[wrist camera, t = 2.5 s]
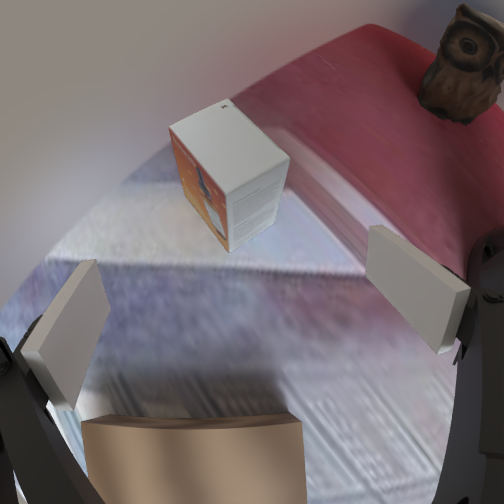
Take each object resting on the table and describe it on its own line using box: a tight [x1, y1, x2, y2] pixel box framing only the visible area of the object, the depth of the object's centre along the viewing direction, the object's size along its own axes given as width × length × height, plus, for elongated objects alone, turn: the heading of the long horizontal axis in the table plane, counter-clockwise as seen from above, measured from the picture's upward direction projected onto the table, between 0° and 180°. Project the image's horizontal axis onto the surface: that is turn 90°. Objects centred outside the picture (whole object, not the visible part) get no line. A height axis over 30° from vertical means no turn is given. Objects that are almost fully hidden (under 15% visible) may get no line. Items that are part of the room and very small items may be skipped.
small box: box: [169, 98, 290, 253], centre depth 26 cm, size 8×6×10 cm
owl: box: [418, 3, 504, 125], centre depth 31 cm, size 13×13×20 cm
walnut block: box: [81, 412, 307, 504], centre depth 19 cm, size 16×14×6 cm
